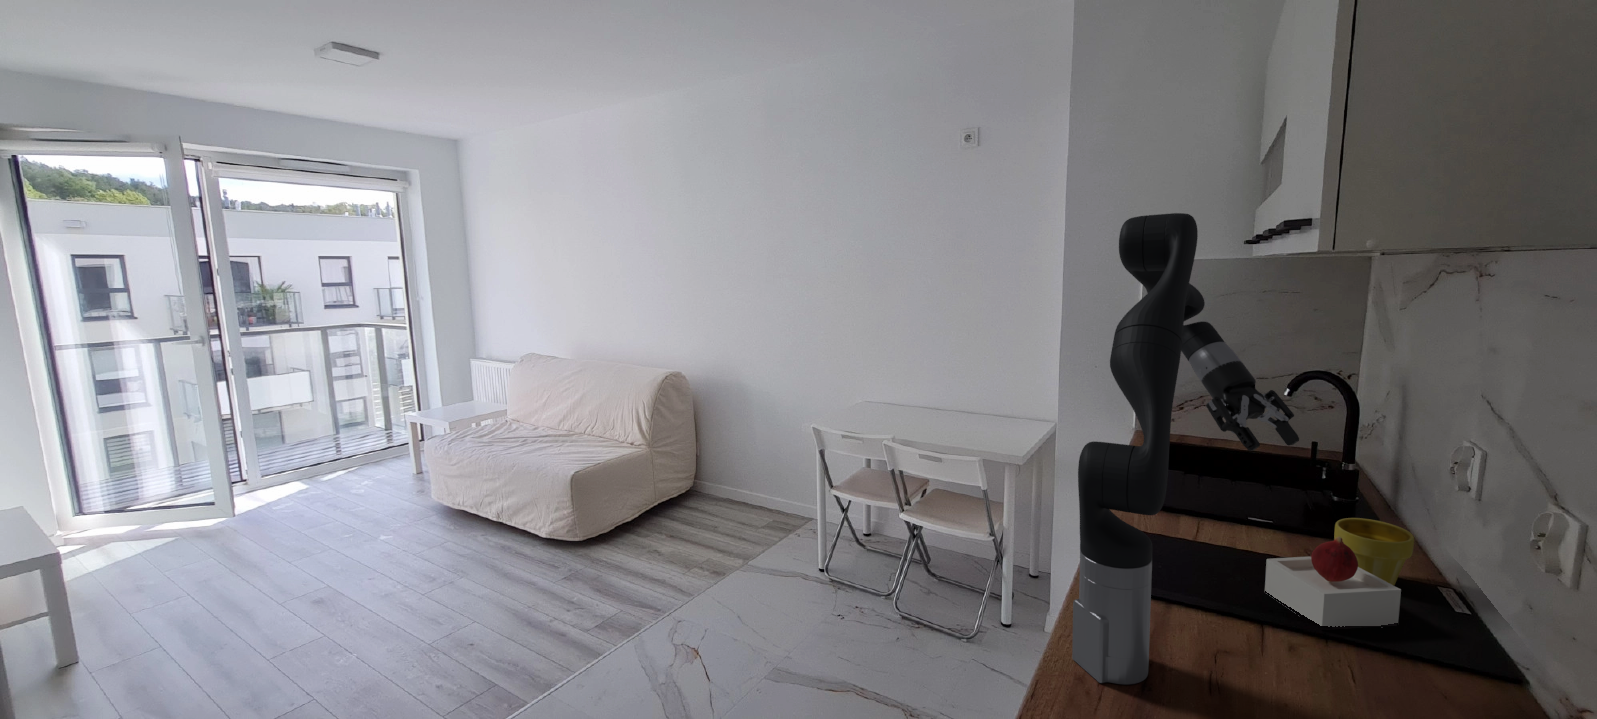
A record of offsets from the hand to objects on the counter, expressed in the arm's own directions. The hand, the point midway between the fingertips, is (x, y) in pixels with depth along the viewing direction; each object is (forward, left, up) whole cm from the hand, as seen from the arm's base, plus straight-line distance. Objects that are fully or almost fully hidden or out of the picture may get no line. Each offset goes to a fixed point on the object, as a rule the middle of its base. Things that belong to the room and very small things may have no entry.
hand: (1274, 445), depth 113 cm
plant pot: (+15, -6, -25) cm, 30 cm away
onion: (0, -11, -20) cm, 23 cm away
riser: (0, -11, -25) cm, 27 cm away
